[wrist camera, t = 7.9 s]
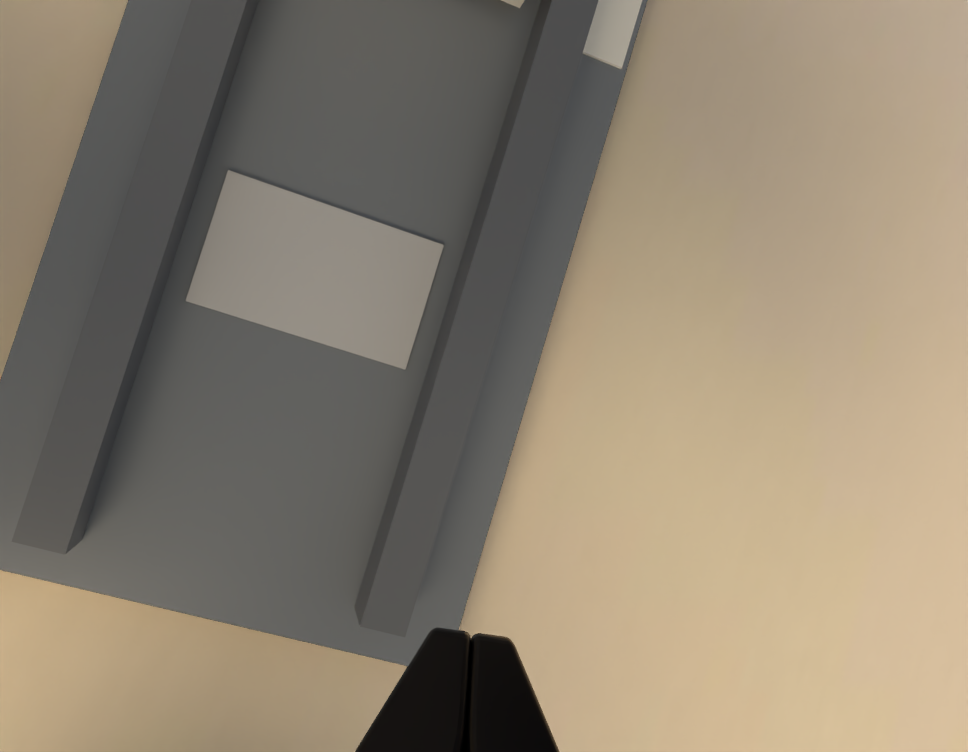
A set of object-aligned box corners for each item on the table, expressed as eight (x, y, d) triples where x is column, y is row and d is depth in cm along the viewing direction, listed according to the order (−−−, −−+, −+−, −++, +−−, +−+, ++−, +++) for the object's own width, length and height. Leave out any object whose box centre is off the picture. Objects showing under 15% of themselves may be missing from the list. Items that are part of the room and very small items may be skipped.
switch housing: (437, 660, 21) (457, 699, 19) (-41, 546, 19) (-89, 572, 17) (687, -170, 23) (736, -235, 20) (267, -374, 20) (266, -477, 18)
